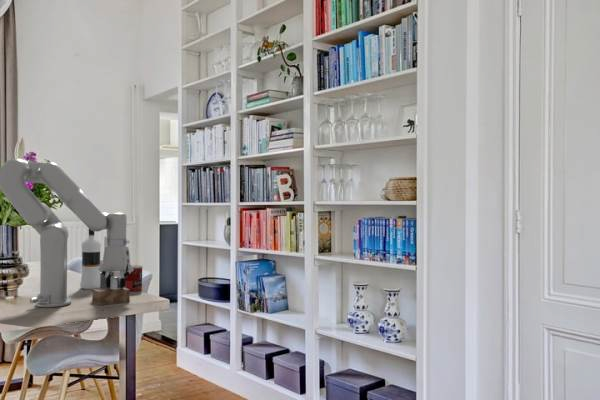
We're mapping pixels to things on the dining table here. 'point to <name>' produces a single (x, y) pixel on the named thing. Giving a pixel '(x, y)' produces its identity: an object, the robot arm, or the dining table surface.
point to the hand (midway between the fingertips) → (115, 287)
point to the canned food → (134, 279)
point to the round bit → (114, 283)
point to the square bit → (104, 280)
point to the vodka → (90, 262)
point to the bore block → (110, 296)
